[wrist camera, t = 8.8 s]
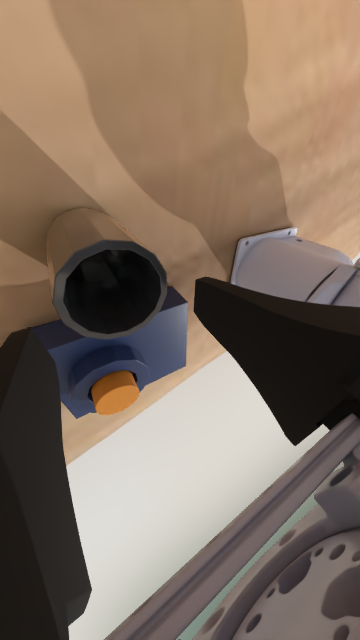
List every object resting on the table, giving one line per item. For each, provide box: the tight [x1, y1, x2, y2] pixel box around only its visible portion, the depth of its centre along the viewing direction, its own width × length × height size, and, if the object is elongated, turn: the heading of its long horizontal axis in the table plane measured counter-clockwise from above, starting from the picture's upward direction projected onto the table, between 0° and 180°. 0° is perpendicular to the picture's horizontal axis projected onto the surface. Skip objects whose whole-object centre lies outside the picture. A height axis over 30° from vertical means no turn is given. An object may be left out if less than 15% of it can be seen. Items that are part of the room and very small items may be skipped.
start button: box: [91, 370, 139, 415], centre depth 16 cm, size 4×4×2 cm
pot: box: [46, 208, 167, 340], centre depth 12 cm, size 5×6×7 cm
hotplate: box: [32, 287, 188, 419], centre depth 19 cm, size 13×10×5 cm
